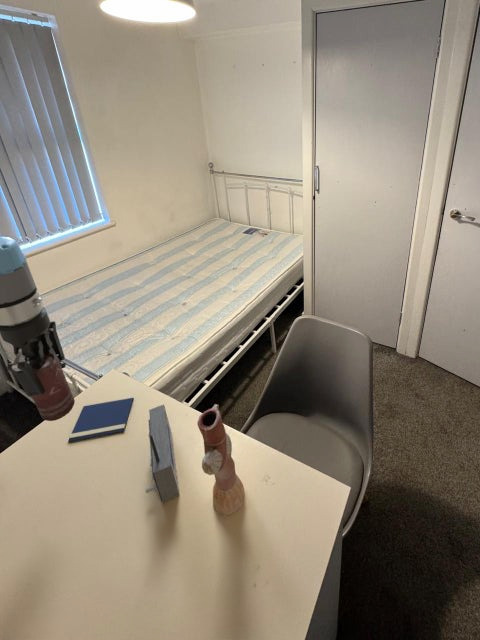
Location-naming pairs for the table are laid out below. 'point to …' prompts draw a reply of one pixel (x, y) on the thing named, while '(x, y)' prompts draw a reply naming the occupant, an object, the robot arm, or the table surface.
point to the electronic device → (162, 455)
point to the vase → (220, 462)
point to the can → (53, 390)
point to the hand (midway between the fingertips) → (58, 399)
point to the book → (101, 419)
